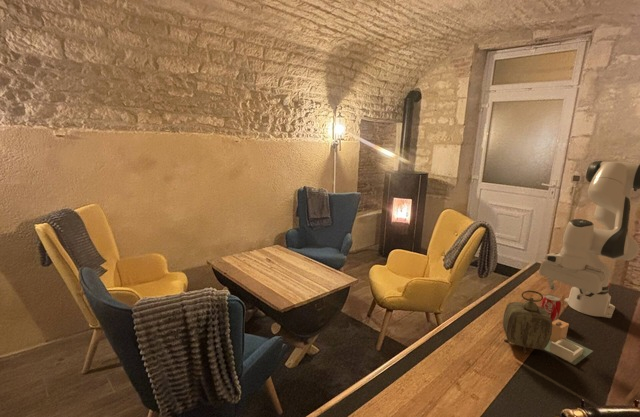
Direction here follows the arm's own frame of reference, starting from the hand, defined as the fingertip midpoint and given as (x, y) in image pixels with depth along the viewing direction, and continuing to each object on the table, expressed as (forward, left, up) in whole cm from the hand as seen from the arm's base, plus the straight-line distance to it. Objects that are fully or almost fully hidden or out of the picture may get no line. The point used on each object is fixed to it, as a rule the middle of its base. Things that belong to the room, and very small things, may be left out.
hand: (565, 294), depth 130 cm
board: (+4, +1, -21) cm, 21 cm away
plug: (0, 0, -20) cm, 20 cm away
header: (+7, +6, -20) cm, 22 cm away
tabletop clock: (+19, -4, -21) cm, 28 cm away
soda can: (-13, -9, -21) cm, 26 cm away
